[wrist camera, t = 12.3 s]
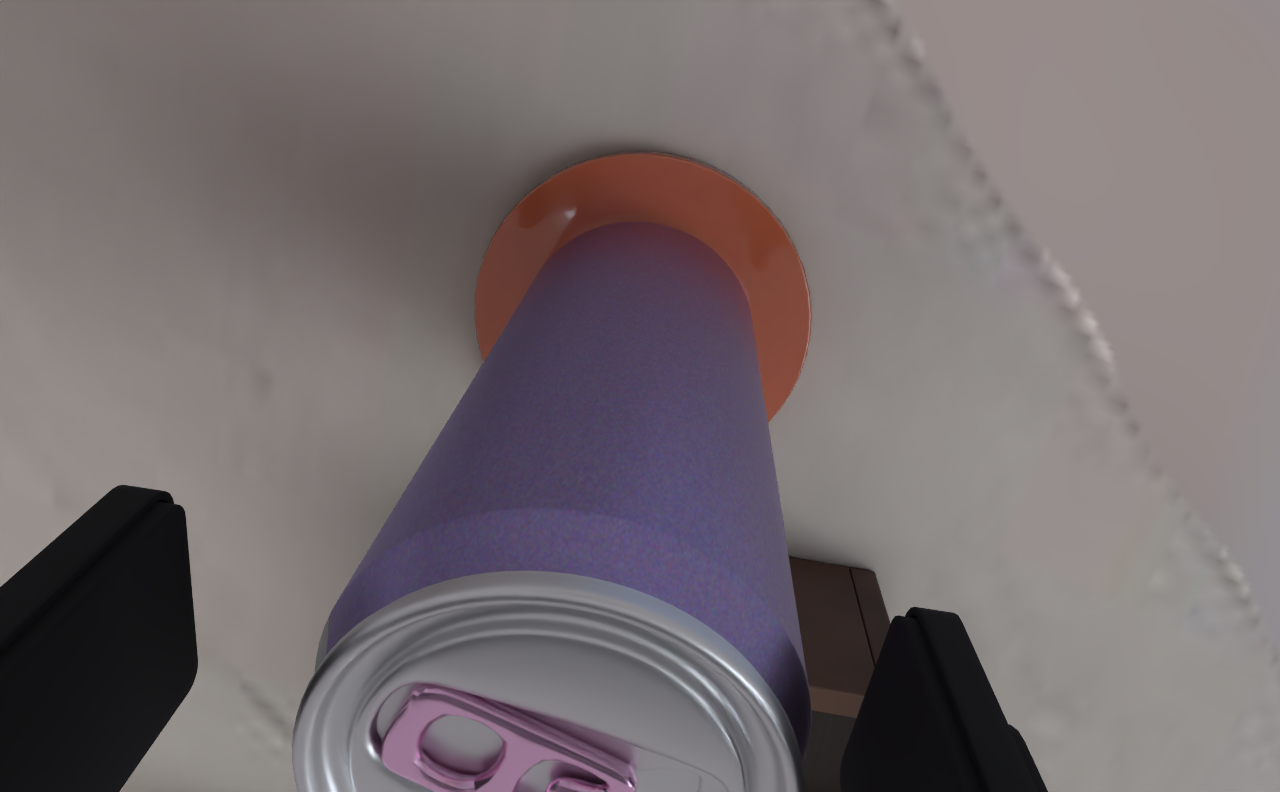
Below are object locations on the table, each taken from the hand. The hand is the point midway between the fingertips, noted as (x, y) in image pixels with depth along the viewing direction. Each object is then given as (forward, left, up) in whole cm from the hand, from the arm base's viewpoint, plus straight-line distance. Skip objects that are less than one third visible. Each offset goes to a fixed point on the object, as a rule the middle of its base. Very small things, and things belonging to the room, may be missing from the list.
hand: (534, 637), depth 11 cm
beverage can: (+1, 0, -13) cm, 13 cm away
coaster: (+1, 0, -13) cm, 13 cm away
